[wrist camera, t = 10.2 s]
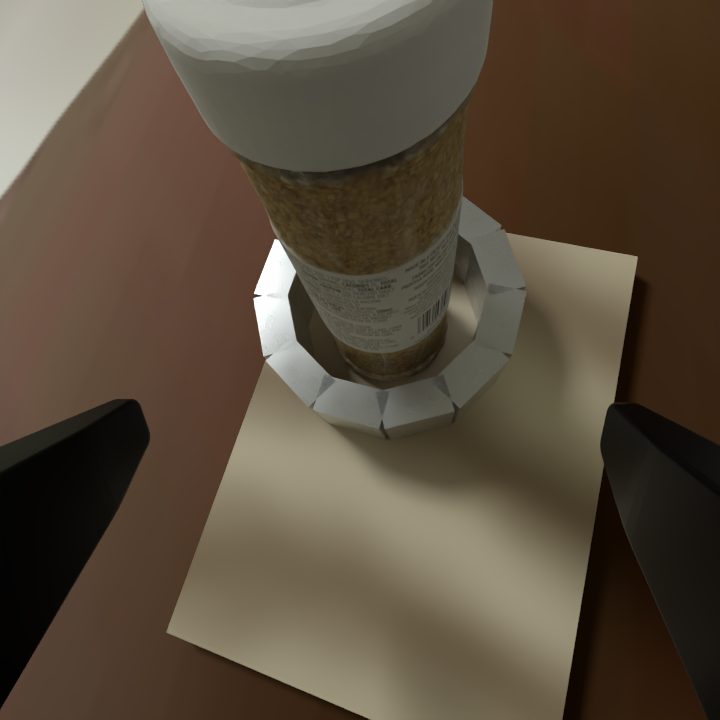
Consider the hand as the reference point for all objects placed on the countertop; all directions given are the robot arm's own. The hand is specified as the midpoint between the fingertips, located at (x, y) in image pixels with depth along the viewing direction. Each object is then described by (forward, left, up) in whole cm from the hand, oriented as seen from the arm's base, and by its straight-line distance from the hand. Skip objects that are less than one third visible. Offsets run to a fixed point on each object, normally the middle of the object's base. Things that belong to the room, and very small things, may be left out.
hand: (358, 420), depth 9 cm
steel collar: (+5, +1, -8) cm, 10 cm away
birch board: (+1, -1, -9) cm, 9 cm away
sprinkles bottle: (+5, +1, -8) cm, 10 cm away
